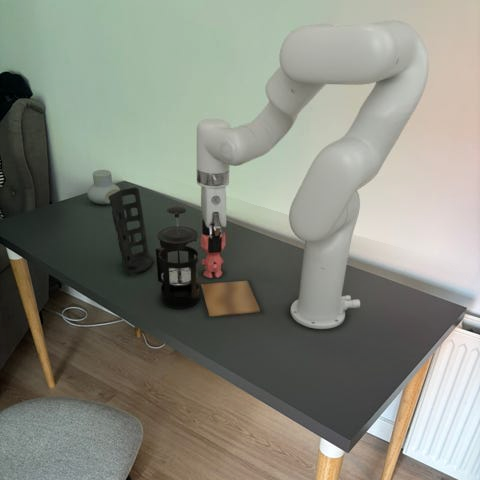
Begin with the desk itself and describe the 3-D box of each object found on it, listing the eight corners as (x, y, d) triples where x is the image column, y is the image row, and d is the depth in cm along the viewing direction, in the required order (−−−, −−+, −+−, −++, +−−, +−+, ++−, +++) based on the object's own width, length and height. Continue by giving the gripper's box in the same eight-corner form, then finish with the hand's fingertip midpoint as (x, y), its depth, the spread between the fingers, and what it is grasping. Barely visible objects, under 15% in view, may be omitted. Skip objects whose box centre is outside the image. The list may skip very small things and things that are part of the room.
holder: (143, 277, 130) (128, 201, 119) (115, 276, 132) (98, 201, 121) (157, 258, 139) (145, 186, 128) (131, 257, 141) (117, 186, 130)
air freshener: (108, 194, 178) (105, 165, 172) (125, 200, 174) (123, 171, 168) (84, 203, 170) (79, 173, 164) (101, 209, 166) (97, 179, 161)
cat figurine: (223, 267, 136) (224, 225, 129) (229, 280, 131) (230, 237, 124) (197, 269, 135) (196, 227, 128) (202, 282, 129) (201, 239, 122)
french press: (210, 298, 123) (209, 207, 110) (184, 315, 117) (180, 221, 104) (173, 282, 129) (169, 195, 116) (147, 298, 122) (139, 207, 109)
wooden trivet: (247, 282, 130) (247, 280, 130) (260, 312, 119) (260, 310, 119) (200, 285, 128) (200, 284, 128) (209, 316, 117) (209, 314, 116)
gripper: (236, 189, 112) (232, 258, 122) (222, 164, 126) (220, 227, 136) (202, 190, 111) (201, 260, 120) (192, 164, 124) (192, 229, 134)
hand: (211, 243), depth 128 cm, fingers open, 9 cm apart
